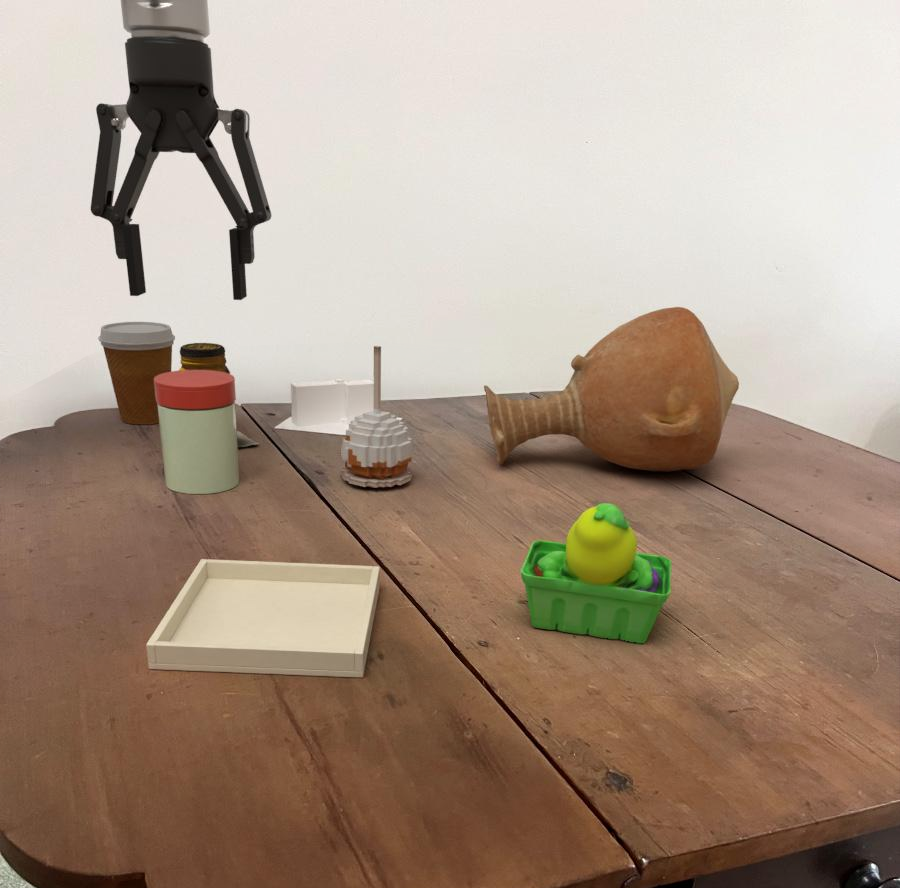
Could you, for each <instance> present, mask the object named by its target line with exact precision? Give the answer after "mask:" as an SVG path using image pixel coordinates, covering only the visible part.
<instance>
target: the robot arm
mask: <svg viewBox="0 0 900 888" xmlns="http://www.w3.org/2000/svg"><path fill="white" fill-rule="evenodd" d="M120 6H121V7H120V8H121V15H122V16H121V17H122V25H123V29H124V30H125V31H126V32H127V33H130V36H131V37H129V38H127V39H126V42H124V49H125V58H126V59H125V60H126V69H127V79H128V86H129V95H128V99H127V101H126V103H124V104H109V103H101V102H100V103H98V104H97V105H96V107H95V111H96V117H97V122H98V123H97V124H98V129H99V137H98V146H97V153H96V160H95V161H96V162H95V169H94V177H93V184H92V185H93V186H92V193H91V202H90V213H91V214H92V215H93V216H94V217H99V218H102V219H104V220H106V221H108V222H109V223H110V224H111V226H112V232H113V241H114V250H115V255H116V257H117V259H118V260H125V261H126V271H127V281H128V289H129V296H130V297H139V296H141V295H144V294H146V293H147V289H146V287H147V286H146V279H145V278H146V277H145V269H144V260H143V259H144V257H143V251H142V250H143V249H142V240H141V239H142V238H141V232H140V231H141V230H140V229H141V228H140V223H131V222H132V221H133V218H132V217H133V214H134V212H135V208H136V207H137V204H138V202H139V200H140V196H141V195H142V192H143V190H144V188H145V184H146V183H147V180H148V178H149V175H150V173H151V170H152V168H153V166H154V163H155V161H156V160H157V158H158V157H159V155H160V153H174V152H180V153H182V154H195V156H196V157H197V159H198V160H199V162H201V164H202V166H203V167H204V169H205V171H206V173H207V175H208V177H209V178H210V180H211V182H212V183H213V185H214V187H215V189H216V191H217V192H218V194H219V196H220V198H221V199H222V201H223V203H224V205H225V207H226V208H227V210H228V212H229V214H230V215H231V217H232V219H233V221H234V223H235V224H236V225H235V227H234V228H231V229H228V234H229V251H230V266H231V281H232V282H231V283H232V296H233V297H232V298H233V301H242V300H243V299H245V298H247V296H248V295H247V279H246V278H247V277H246V265H252V264H253V263H254V261H255V240H254V239H255V237H254V230H255V228H256V227H257V226H258V225H261V224H264V223H267V222H268V221H270V220H271V219H272V211H271V208H270V204H269V201H268V198H267V194H266V189H265V188H264V187H265V186H264V184H263V181H262V176H261V173H260V170H259V167H258V163H257V160H256V156H255V152H254V149H253V146H252V143H251V139H250V122H251V121H250V120H251V119H250V118H251V117H250V114H249V112H248V111H247V110H245V109H241V108H234V109H229V108H221V107H220V106H219V104H218V102H217V101H216V98H215V94H214V93H215V92H214V75H213V62H212V61H213V59H212V48H211V47H209V44H208V43H206V42H204V41H205V38H207V37H209V35H210V34H211V30H210V29H211V28H210V18H209V17H210V15H209V5H208V0H120ZM128 119H130V120H131V122H132V123H133V125H134V126H135V127H136V128H137V130H138V131H139V132H140V135H139V138H138V141H137V143H136V146H135V148H134V155H133V157H132V159H131V162H130V164H129V167H128V170H127V172H126V175H125V177H124V179H123V183H122V185H121V187H120V189H119V192H118V195H117V197H116V199H115V202H114V195H115V188H116V182H117V181H116V180H117V174H118V167H119V166H118V165H119V159H120V151H121V144H122V131H123V130H124V129H125V128H126V126H127V120H128ZM219 122H221V123H222V125H223V128H224V131H225V132H226V133H227V134H229V135H230V137H231V142H232V146H233V150H234V153H235V156H236V160H237V163H238V166H239V170H240V173H241V176H242V180H243V182H244V187H245V190H246V193H247V196H248V200H249V203H250V207H251V210H252V211H251V212H250V210H249V209H248V206H247V205H246V203H245V202H244V200H243V198H242V196H241V194H240V192H239V191H238V188H237V187H236V185H235V183H234V182H233V179H232V178H231V176H230V174H229V173H228V171H227V168H226V167H225V165H224V163H223V162H222V160H221V158H220V155H219V152H218V151H217V149H216V146H215V145H214V143H213V141H212V139H211V135H212V133H213V132H214V130H215V128H216V127H217V125H218V124H219ZM113 203H114V205H113Z"/></svg>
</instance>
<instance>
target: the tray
mask: <svg viewBox="0 0 900 888" xmlns="http://www.w3.org/2000/svg"><path fill="white" fill-rule="evenodd" d="M380 588H381V567H380V566H378V565H353V564H331V563H308V562H307V563H306V562H284V561H283V562H280V561H259V560H258V561H257V560H237V559H236V560H233V559H209V558H208V559H207V558H201V559H200V560H199V561H198V564H197V565H196V566H195V568H194V570H193V571H192V573H191V574H190V576H189V577H188V579H187V580H186V582H185V583H184V585H183V586H182V588H181V590H180V591H179V592H178V594H177V595H176V598H175V599H174V601H173V602H172V604H171V605H170V607H169V608H168V609H167V611H166V613H165V615H164V616H163V618H162V619H161V620H160V622H159V623H158V626H157V627H156V628H155V630H154V632H153V633H152V634H151V636H150V638H149V640H147V642H146V644H145V647H146V656H147V663H148V664H147V666H148V669H149V670H164V671H184V672H185V671H189V672H208V673H209V672H210V673H211V672H214V673H233V674H234V673H237V674H260V675H283V676H284V675H286V676H287V675H288V676H310V677H311V676H312V677H335V678H336V677H338V678H364V674H365V670H366V669H365V668H366V663H367V659H368V652H369V648H370V641H371V636H372V631H373V626H374V620H375V614H376V610H377V604H378V600H379V595H380V594H379V593H380Z"/></svg>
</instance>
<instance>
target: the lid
mask: <svg viewBox="0 0 900 888" xmlns="http://www.w3.org/2000/svg"><path fill="white" fill-rule="evenodd" d="M235 379H236V377H235V376H234V375H233V374H231V373H230V374H228V373H225V372H220V371H213V370H180V371H179V370H171V372H166V373H162V374H159V375H157V376H155V377H154V387H155V397H156V402H157V403H158V404H160V405H163V406H166V407H170V408H178V409H209V408H216V407H222V406H226V405H229V404H231V403H233V402H234V401H235V402H236V400H237V397H236V396H237V395H236V382H235V381H236V380H235Z"/></svg>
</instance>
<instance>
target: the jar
mask: <svg viewBox="0 0 900 888" xmlns="http://www.w3.org/2000/svg"><path fill="white" fill-rule="evenodd" d="M157 406H158V417H159V423H158V425H159V436H160V445H161V457H162V466H163V476H164V485H165V487H166V488H167V489H169V490H170V491H173V492H176V493H181V494H187V495H209V494H218V493H222V492H227V491H230V490H232V489H234V488H236V487H237V486H238V485H239V484H240V481H241V477H240V461H239V447H238V443H237V431H238V430H237V413H236V400H235V401H234V402H233V403H231V404H229V405H226V406H222V407H216V408H209V409H178V408H170V407H166V406H163V405H160V404H158V403H157Z"/></svg>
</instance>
